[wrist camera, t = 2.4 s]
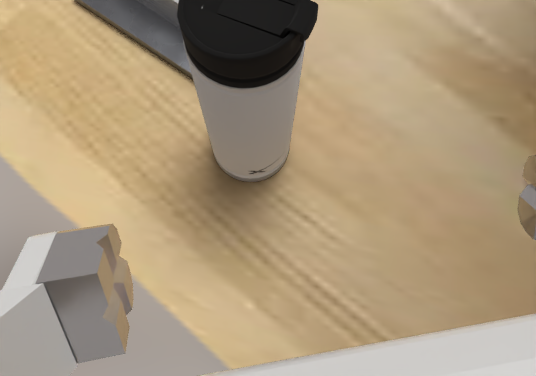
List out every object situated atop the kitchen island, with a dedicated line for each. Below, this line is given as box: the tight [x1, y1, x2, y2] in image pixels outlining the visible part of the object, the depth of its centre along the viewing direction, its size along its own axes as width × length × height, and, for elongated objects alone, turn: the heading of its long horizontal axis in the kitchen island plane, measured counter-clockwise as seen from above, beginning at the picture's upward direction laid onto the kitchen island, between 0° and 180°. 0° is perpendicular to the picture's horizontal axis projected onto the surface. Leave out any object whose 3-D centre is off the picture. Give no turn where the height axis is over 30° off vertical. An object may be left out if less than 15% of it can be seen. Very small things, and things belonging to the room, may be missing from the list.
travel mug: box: [177, 0, 318, 182], centre depth 32 cm, size 6×7×20 cm
